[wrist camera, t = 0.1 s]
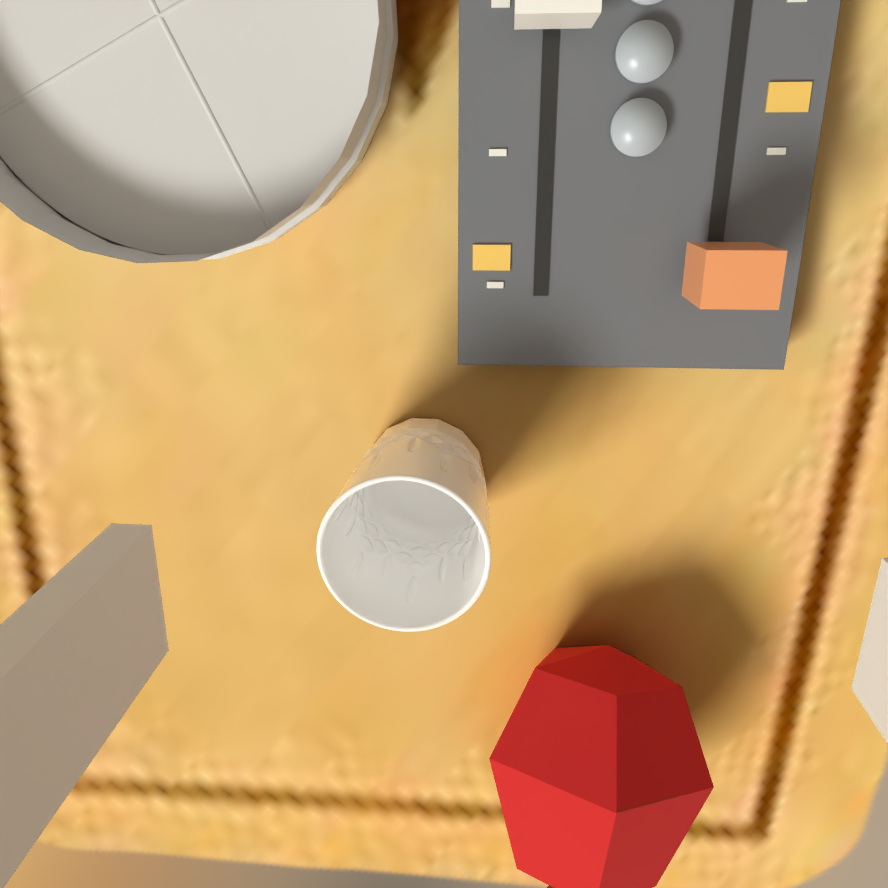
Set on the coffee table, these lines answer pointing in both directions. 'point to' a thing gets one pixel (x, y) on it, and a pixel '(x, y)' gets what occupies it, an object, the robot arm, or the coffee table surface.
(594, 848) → the red faceted polyhedron
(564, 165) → the console
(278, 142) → the dish
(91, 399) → the coffee table surface
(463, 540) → the white cup
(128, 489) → the coffee table surface
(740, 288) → the fader
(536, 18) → the cream block
